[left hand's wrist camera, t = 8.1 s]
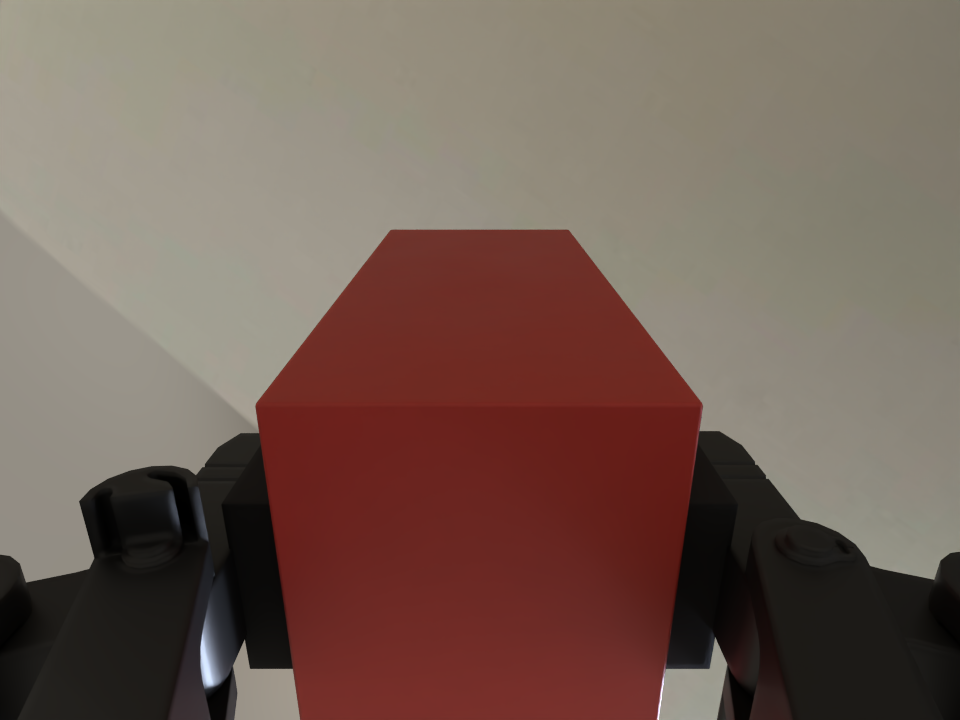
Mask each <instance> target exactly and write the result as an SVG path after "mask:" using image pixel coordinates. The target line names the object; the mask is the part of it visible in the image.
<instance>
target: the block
mask: <svg viewBox="0 0 960 720" xmlns="http://www.w3.org/2000/svg"><path fill="white" fill-rule="evenodd" d="M255 407H256V414H257V420H258V427H259V434H260V441H261V448H262V455H263V462H264V469H265V476H266V483H267V490H268V497H269V504H270V511H271V518H272V525H273V532H274V539H275V546H276V553H277V560H278V567H279V574H280V581H281V588H282V595H283V602H284V609H285V616H286V623H287V630H288V637H289V644H290V651H291V658H292V665H293V672H294V679H295V686H296V693H297V700H298V707H299V714H300V720H658V719H659V712H660V705H661V698H662V691H663V684H664V677H665V670H666V663H667V656H668V649H669V642H670V634H671V627H672V620H673V613H674V606H675V599H676V592H677V585H678V578H679V571H680V564H681V557H682V550H683V543H684V536H685V529H686V522H687V515H688V508H689V500H690V493H691V486H692V479H693V472H694V465H695V458H696V451H697V444H698V437H699V430H700V423H701V416H702V409H703V405H702V403H701V401H700V400H699V399H698V397H697V396H696V395H695V393H694V392H693V391H692V390H691V388H690V387H689V386H688V384H687V383H686V382H685V381H684V379H683V378H682V377H681V375H680V374H679V373H678V371H677V370H676V369H675V368H674V366H673V365H672V364H671V362H670V361H669V360H668V358H667V357H666V356H665V355H664V353H663V352H662V351H661V349H660V348H659V347H658V345H657V344H656V343H655V342H654V340H653V339H652V338H651V336H650V335H649V334H648V332H647V331H646V330H645V329H644V327H643V326H642V325H641V323H640V322H639V321H638V319H637V318H636V317H635V316H634V314H633V313H632V312H631V310H630V309H629V308H628V306H627V305H626V304H625V303H624V301H623V300H622V299H621V297H620V296H619V295H618V293H617V292H616V291H615V290H614V288H613V287H612V286H611V284H610V283H609V282H608V280H607V279H606V278H605V277H604V275H603V274H602V273H601V271H600V270H599V269H598V268H597V266H596V265H595V264H594V262H593V261H592V260H591V258H590V257H589V256H588V255H587V253H586V252H585V251H584V249H583V248H582V247H581V245H580V244H579V243H578V242H577V240H576V239H575V238H574V236H573V235H572V234H571V232H570V231H569V230H390V232H389V233H388V234H387V235H386V237H385V238H384V239H383V241H382V242H381V243H380V244H379V246H378V247H377V248H376V250H375V251H374V252H373V253H372V255H371V256H370V257H369V259H368V260H367V261H366V262H365V264H364V265H363V266H362V268H361V269H360V270H359V272H358V273H357V274H356V275H355V277H354V278H353V279H352V281H351V282H350V283H349V284H348V286H347V287H346V288H345V290H344V291H343V292H342V293H341V295H340V296H339V297H338V299H337V300H336V301H335V302H334V304H333V305H332V306H331V308H330V309H329V310H328V311H327V313H326V314H325V315H324V317H323V318H322V319H321V321H320V322H319V323H318V324H317V326H316V327H315V328H314V330H313V331H312V332H311V333H310V335H309V336H308V337H307V339H306V340H305V341H304V342H303V344H302V345H301V346H300V348H299V349H298V350H297V351H296V353H295V354H294V355H293V357H292V358H291V359H290V360H289V362H288V363H287V364H286V366H285V367H284V368H283V370H282V371H281V372H280V373H279V375H278V376H277V377H276V379H275V380H274V381H273V382H272V384H271V385H270V386H269V388H268V389H267V390H266V391H265V393H264V394H263V395H262V397H261V398H260V399H259V400H258V402H257V403H256V406H255Z"/></svg>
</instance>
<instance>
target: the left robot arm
mask: <svg viewBox="0 0 960 720" xmlns="http://www.w3.org/2000/svg"><path fill="white" fill-rule="evenodd" d="M79 503H80V506H81V510H82V514H83V517H84V521H85V525H86V528H87V532H88V536H89V539H90V543H91V547H92V551H93V554H94V560H93V563H92V565H91V567H90V569H88V570H84V571H80V572H76V573H71V574H66V575H61V576H56V577H52V578H47V579H42V580H37V581H32V582H27V583H26V581H25V578H24V575H23V572H22V569H21V566H20V564H19V563H18V562H17V561H16V560H14V559H13V558H12V557H10V556H5V555H0V720H234V716H235V708H236V700H237V688H236V681H235V675H234V670H233V664H234V662H235V660H236V657H237V655H238V653H239V651H240V648H241V646H242V644H243V642H244V640H245V643H246V648H247V654H248V660H249V665H250V669H293V665H292V658H291V651H290V644H289V637H288V630H287V623H286V616H285V609H284V602H283V595H282V588H281V581H280V574H279V567H278V560H277V553H276V546H275V539H274V532H273V525H272V518H271V511H270V504H269V497H268V490H267V483H266V476H265V469H264V462H263V455H262V448H261V441H260V434H259V433H240V434H239V435H237V436H236V437H234V438H232V439H231V440H229V441H228V442H226V443H224V444H223V445H221V446H220V447H218V448H217V449H216V451H215V452H214V453H213V454H212V456H211V457H210V458H209V460H208V461H207V462H206V464H205V467H202V468H201V470H200V471H199V472H198V474H197V475H195V474H193V473H192V472H191V471H190V470H188V469H185V468H180V467H176V466H151V467H146V468H141V469H136V470H131V471H128V472H125V473H123V474H120V475H117V476H114V477H112V478H109V479H107V480H105V481H104V482H102V483H100V484H99V485H97V486H95V487H94V488H92V489H90V490H89V491H88V493H87V494H86V495H85V496H84V497H83V498H82V499H81V500H80V501H79ZM715 637H716V640H717V642H718V644H719V646H720V648H721V651H722V653H723V655H724V657H725V660H726V662H727V670H726V675H725V680H724V686H723V691H722V696H721V702H720V707H719V712H718V717H717V720H960V552H955V553H950V554H949V555H947V556H946V557H945V558H943V559H942V560H941V561H940V564H939V567H938V570H937V573H936V577H935V580H932V579H927V578H922V577H917V576H913V575H908V574H903V573H898V572H893V571H888V570H883V569H879V568H875V567H872V566H870V565H869V563H868V561H867V559H866V557H865V556H864V555H863V553H862V552H861V551H860V550H859V548H858V547H857V546H856V545H855V544H854V543H853V542H851V541H850V540H849V539H847V538H846V537H844V536H843V535H841V534H840V533H839V532H836V531H834V530H832V529H829V528H827V527H825V526H822V525H820V524H818V523H813V522H809V521H805V520H801V519H800V518H799V517H798V516H797V514H796V513H795V512H794V510H793V509H792V508H791V507H790V505H789V504H788V503H787V502H786V500H785V499H784V498H783V497H782V495H781V494H780V493H779V492H778V490H777V489H776V488H775V486H774V485H773V484H772V483H771V481H770V480H769V479H766V475H765V474H764V473H763V471H762V470H761V469H760V468H759V466H758V465H755V461H754V460H753V459H752V457H751V456H750V455H749V454H748V452H747V451H746V450H745V449H744V447H743V446H742V445H741V444H739V443H737V442H736V441H734V440H732V439H731V438H729V437H728V436H726V435H724V434H723V433H721V432H720V431H699V437H698V444H697V451H696V458H695V465H694V472H693V479H692V486H691V493H690V500H689V508H688V515H687V522H686V529H685V536H684V543H683V550H682V557H681V564H680V571H679V578H678V585H677V592H676V599H675V606H674V613H673V620H672V627H671V634H670V642H669V649H668V656H667V663H666V669H709V668H710V663H711V657H712V651H713V646H714V640H715Z"/></svg>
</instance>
